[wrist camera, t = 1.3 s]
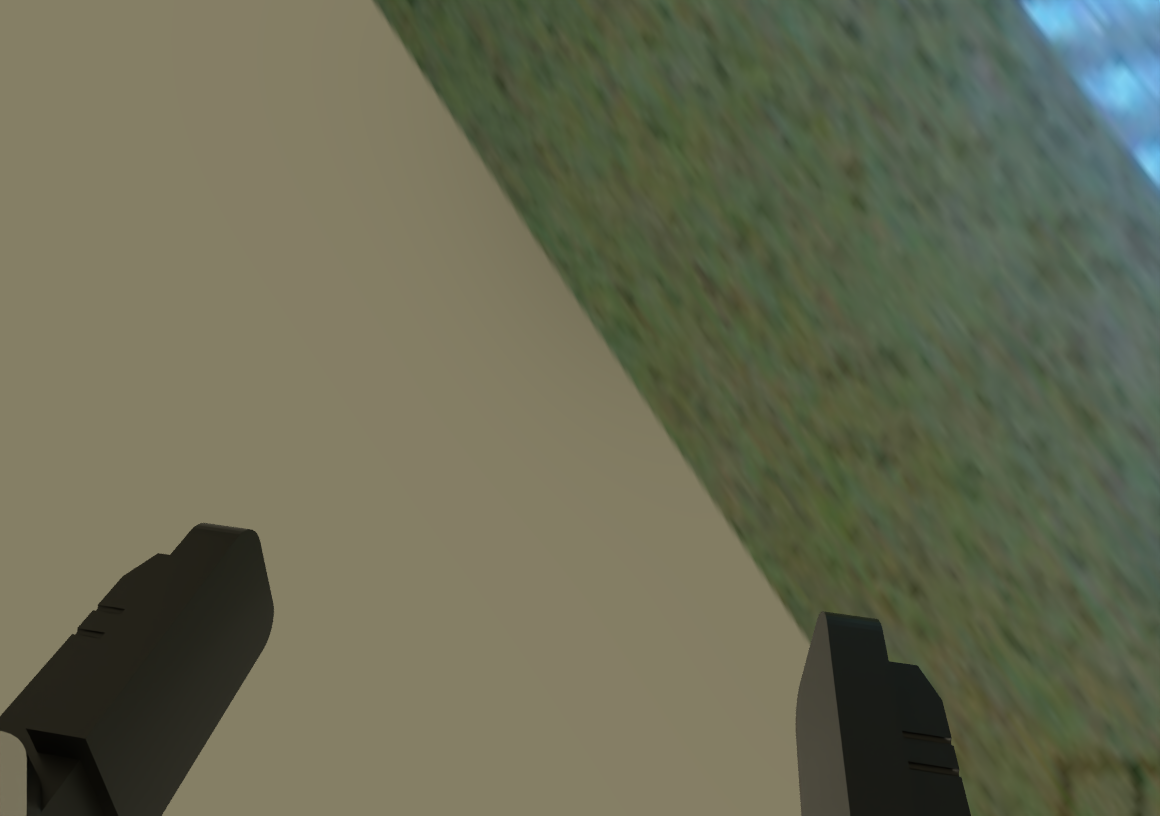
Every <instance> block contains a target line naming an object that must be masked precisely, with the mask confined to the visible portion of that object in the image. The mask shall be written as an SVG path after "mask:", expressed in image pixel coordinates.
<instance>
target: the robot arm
mask: <svg viewBox="0 0 1160 816" xmlns="http://www.w3.org/2000/svg"><path fill="white" fill-rule="evenodd" d="M273 616H274V606H273V600H272V595H271V591H270V586H269V582H268V577H267V572H266V567H265V563H264V558H263V553H262V548H261V543H260V540H259V537H258V535H257V533H256V532H255V531H253V530H250V529H243V528H236V527H229V526H221V525H215V524H208V523H200V524H198V525H197V526H195V527H194V528H193V529H192V530H191V531H190V532H189V533H188V534H187V536H186V537H185V538H184V539H183V540H182V541H181V543H180V544H179V545H178V546H177V547H176V549H175V550H174V551H173V552H172V553H171V555H166V554H159V553H158V554H156V555H155V556H153V557H152V558H150V559H149V560H147V561H146V562H144V563H143V564H141V565H139V566H138V567H136V568H135V569H133V570H132V571H130V572H129V573H127V574H126V575H124V576H123V577H122V578H121V579H120V580H119V581H118V582H117V584H116V585H115V586H114V587H113V588H112V589H111V591H110V592H109V593H108V594H107V595H106V596H105V597H104V599H103V600H102V601H101V602H100V603H99V604H98V609H97V610H96V611H92V612H91V613H90V614H89V616H88V617H87V618H86V619H85V620H84V621H83V622H82V624H81V625H80V626H79V627H78V631H77V633H76V634H75V635H74V634H72V635H71V636H70V637H69V638H68V639H67V641H66V642H65V643H64V644H63V645H62V647H61V648H60V649H59V650H58V651H57V652H56V653H55V654H54V655H53V657H52V658H51V659H50V660H49V661H48V662H47V664H46V665H45V666H44V667H43V668H42V669H41V670H40V672H39V673H38V674H37V675H36V676H35V677H34V678H33V679H32V681H31V682H30V683H29V684H28V685H27V686H26V687H25V689H24V690H23V691H22V692H21V693H20V694H19V695H18V697H17V698H16V699H15V700H14V701H13V702H12V703H11V705H10V706H9V707H8V708H7V709H6V710H5V712H4V713H3V714H2V715H1V716H0V816H162V814H163V812H164V811H165V809H166V807H167V805H168V804H169V803H170V801H171V799H172V797H173V796H174V794H175V793H176V791H177V789H178V788H179V786H180V784H181V783H182V781H183V780H184V778H185V776H186V774H187V773H188V771H189V770H190V768H191V766H192V765H193V763H194V762H195V760H196V758H197V757H198V755H199V753H200V752H201V750H202V749H203V747H204V745H205V744H206V742H207V740H208V739H209V737H210V735H211V734H212V732H213V731H214V729H215V727H216V726H217V724H218V722H219V721H220V719H221V718H222V716H223V714H224V713H225V711H226V709H227V708H228V706H229V705H230V703H231V701H232V700H233V698H234V696H235V695H236V693H237V691H238V690H239V688H240V686H241V685H242V683H243V681H244V680H245V678H246V677H247V675H248V673H249V672H250V670H251V668H252V667H253V665H254V664H255V662H256V660H257V659H258V657H259V655H260V654H261V652H262V651H263V649H264V647H265V645H266V643H267V640H268V638H269V635H270V632H271V628H272V623H273ZM796 741H797V757H798V771H799V784H800V785H799V786H800V800H801V815H802V816H971V814H970V810H969V806H968V802H967V798H966V794H965V790H964V786H963V782H962V778H961V777H959V766H958V762H957V758H956V754H955V750H954V746H952V745H951V734H950V730H949V726H948V722H947V718H946V714H945V710H944V706H943V702H942V700H941V698H940V697H939V695H938V694H937V692H936V691H935V690H934V688H933V687H932V685H931V684H930V683H929V681H928V680H927V678H926V677H925V675H924V674H923V673H922V671H921V670H920V668H919V667H918V666H917V665H910V664H903V663H896V662H889V661H888V655H887V650H886V645H885V640H884V635H883V630H882V626H881V623H880V622H879V620H878V619H872V618H865V617H858V616H851V615H844V614H837V613H830V612H821V613H820V614H819V616H818V619H817V622H816V626H815V630H814V633H813V637H812V641H811V645H810V648H809V652H808V656H807V660H806V663H805V667H804V671H803V674H802V678H801V682H800V686H799V691H798V698H797V707H796Z"/></svg>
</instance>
